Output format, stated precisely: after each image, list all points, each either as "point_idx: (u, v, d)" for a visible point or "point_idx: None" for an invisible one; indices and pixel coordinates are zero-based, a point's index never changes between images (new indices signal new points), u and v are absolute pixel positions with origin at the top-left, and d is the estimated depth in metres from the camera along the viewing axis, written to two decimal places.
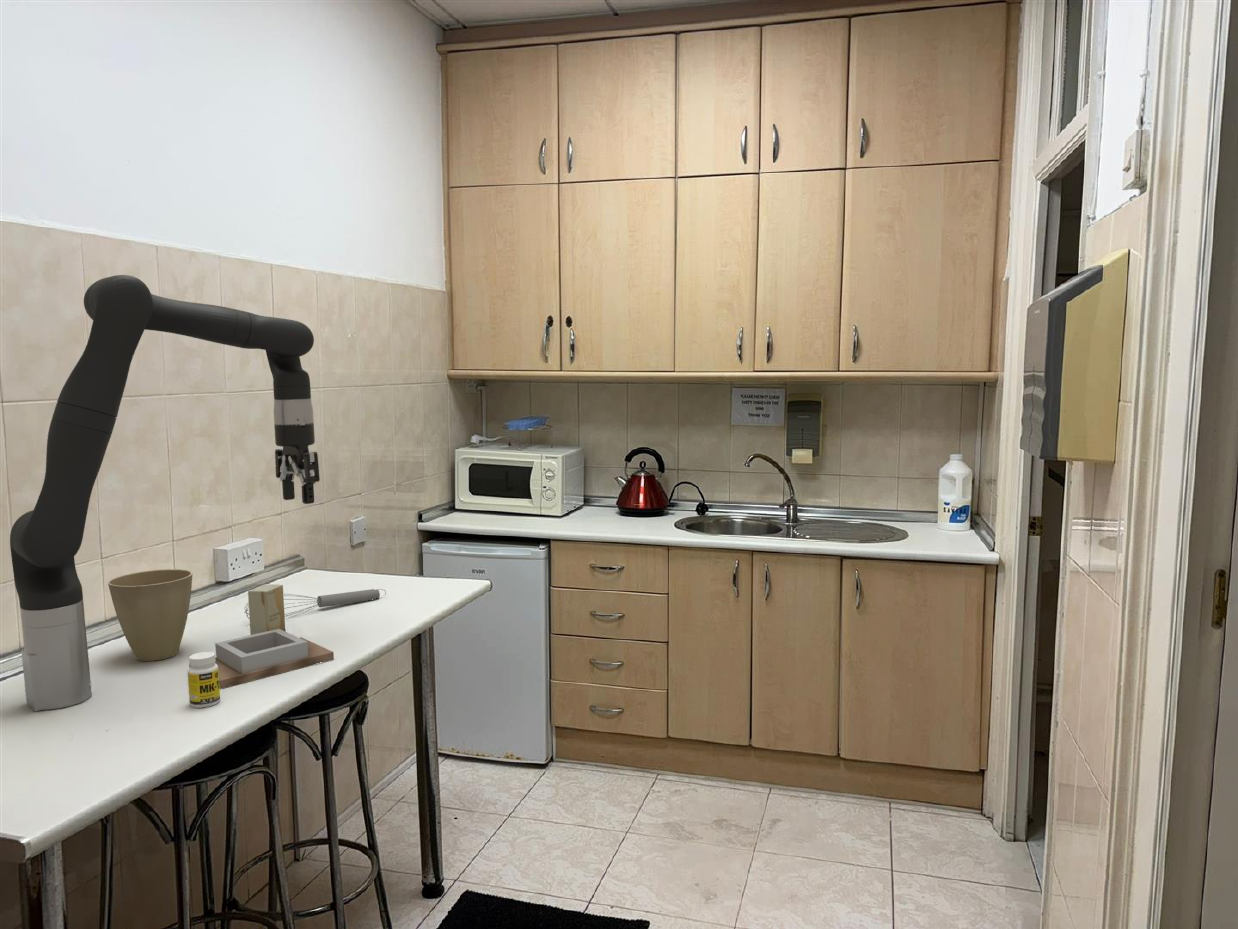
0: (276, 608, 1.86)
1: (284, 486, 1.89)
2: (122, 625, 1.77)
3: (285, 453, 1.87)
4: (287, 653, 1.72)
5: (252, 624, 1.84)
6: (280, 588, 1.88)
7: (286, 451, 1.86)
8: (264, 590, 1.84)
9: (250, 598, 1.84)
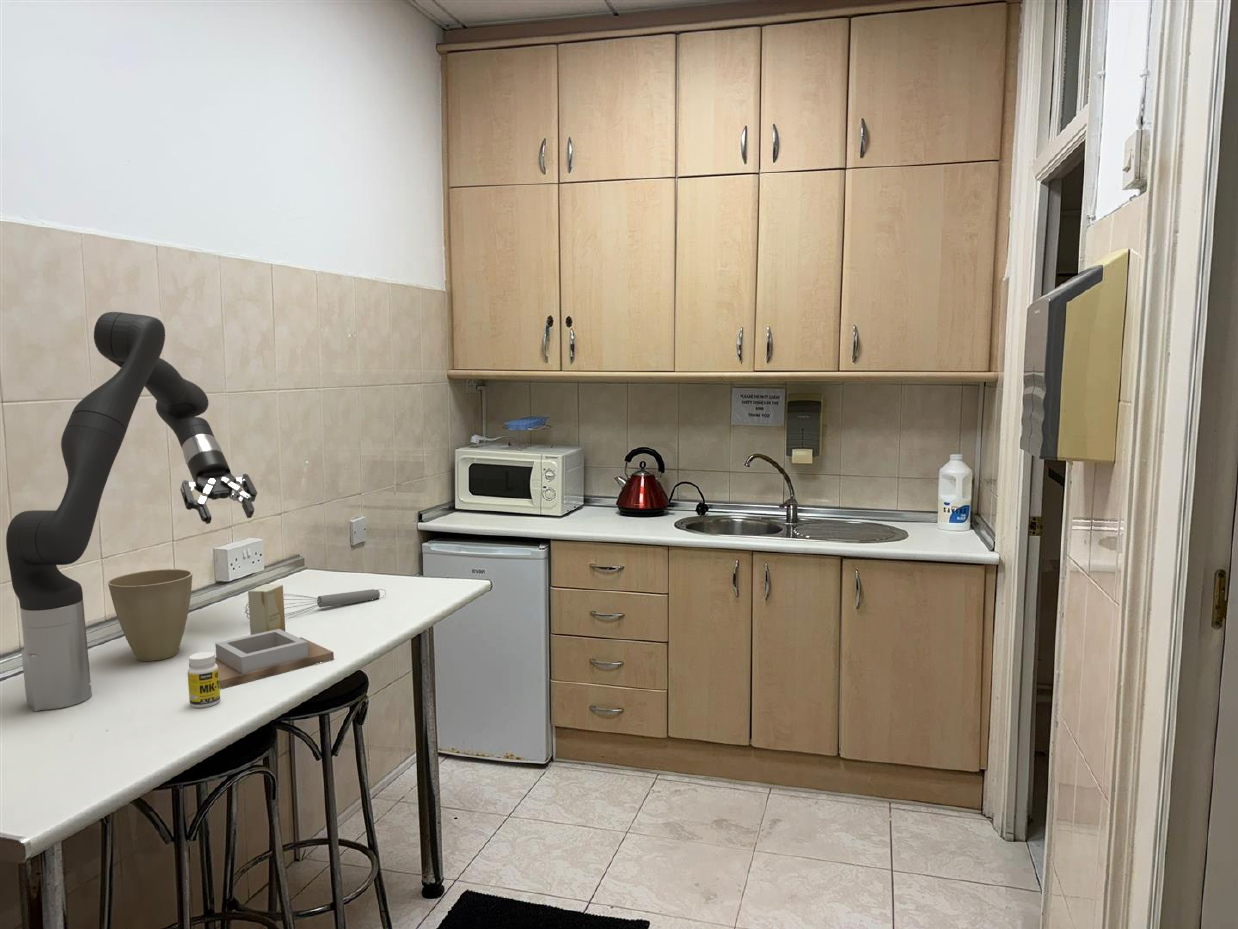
0: (276, 608, 1.86)
1: (207, 507, 1.90)
2: (122, 625, 1.77)
3: (205, 480, 1.93)
4: (287, 653, 1.72)
5: (252, 624, 1.84)
6: (280, 588, 1.88)
7: (206, 478, 1.94)
8: (264, 590, 1.84)
9: (250, 598, 1.84)
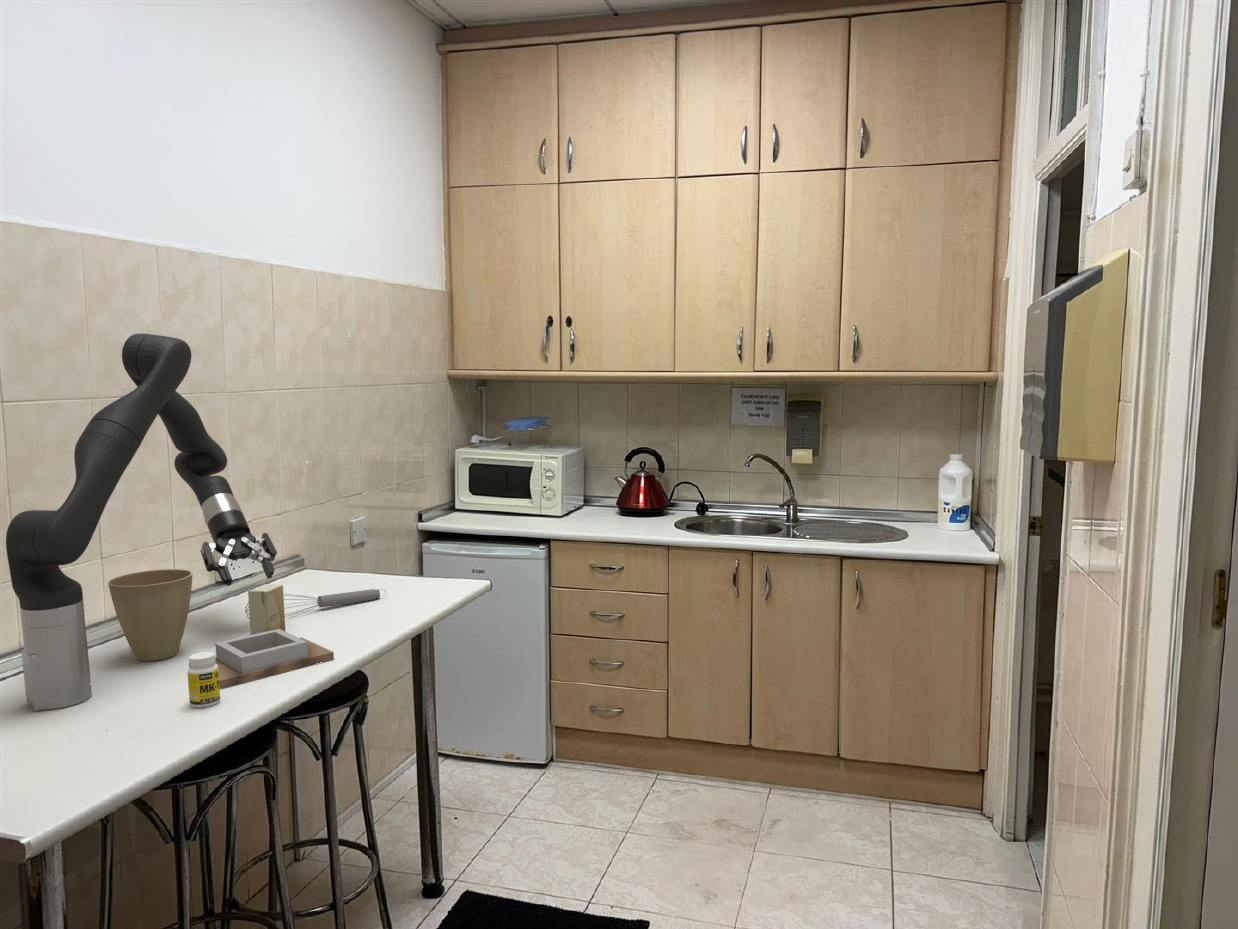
0: (276, 608, 1.86)
1: (227, 569, 1.89)
2: (122, 625, 1.77)
3: (225, 541, 1.93)
4: (287, 653, 1.72)
5: (252, 624, 1.84)
6: (280, 588, 1.88)
7: (227, 539, 1.93)
8: (264, 590, 1.84)
9: (250, 598, 1.84)
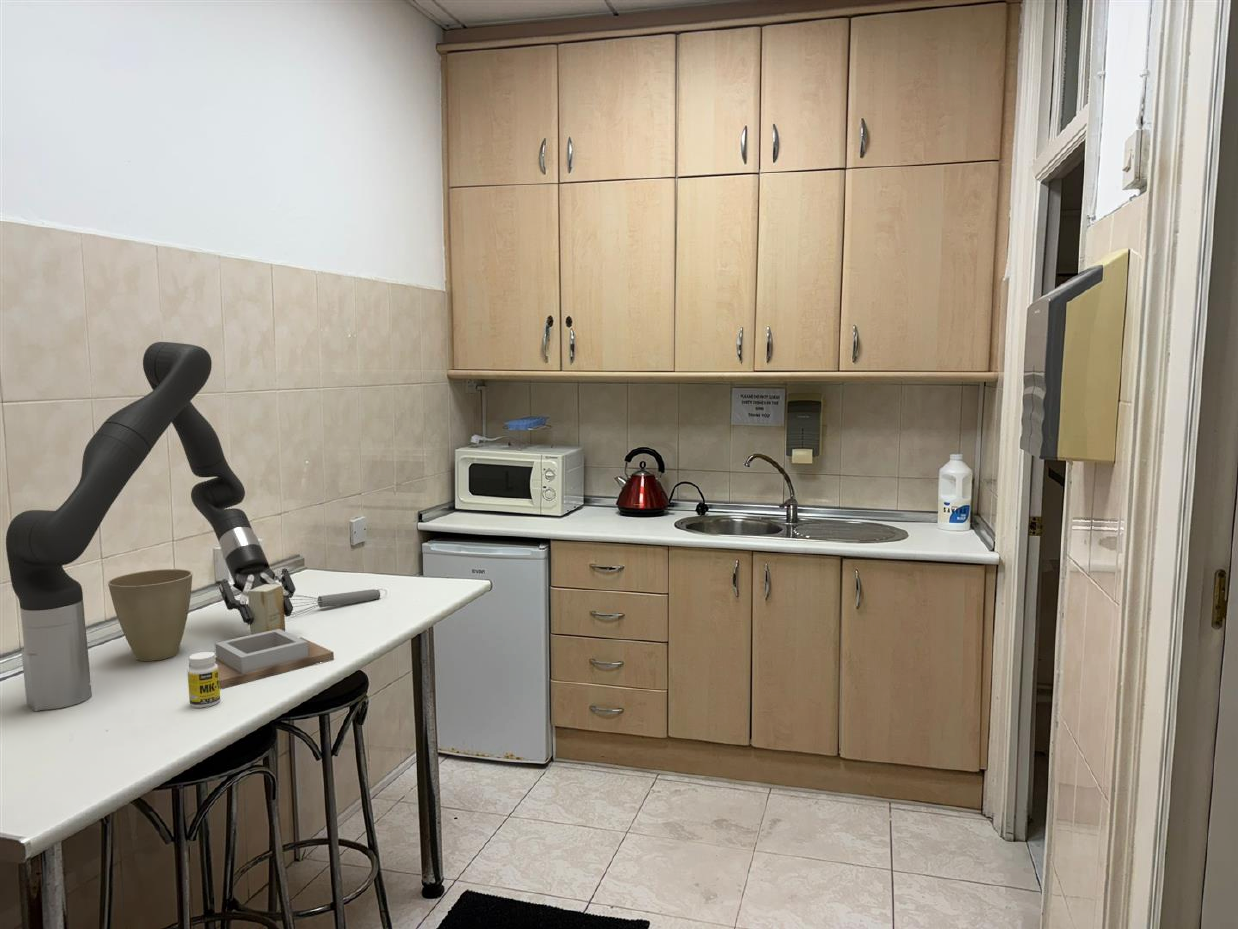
0: (276, 608, 1.86)
1: (248, 608, 1.84)
2: (122, 625, 1.77)
3: (243, 577, 1.88)
4: (287, 653, 1.72)
5: (252, 624, 1.84)
6: (280, 588, 1.88)
7: (245, 575, 1.88)
8: (264, 590, 1.84)
9: (250, 598, 1.84)
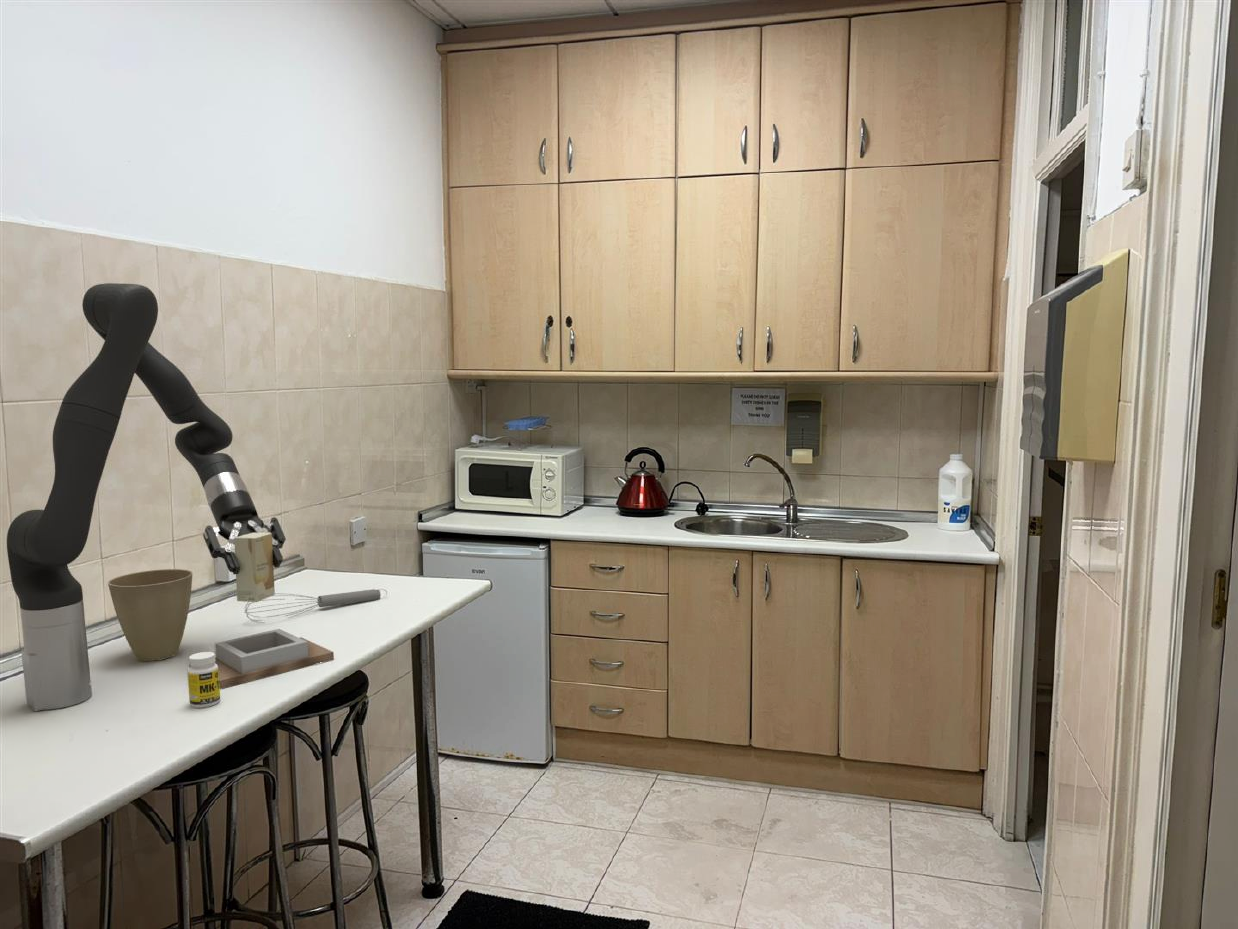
0: (264, 557, 1.73)
1: (234, 556, 1.71)
2: (122, 625, 1.77)
3: (230, 524, 1.75)
4: (287, 653, 1.72)
5: (238, 574, 1.71)
6: (269, 536, 1.74)
7: (232, 522, 1.75)
8: (251, 537, 1.71)
9: (236, 545, 1.70)
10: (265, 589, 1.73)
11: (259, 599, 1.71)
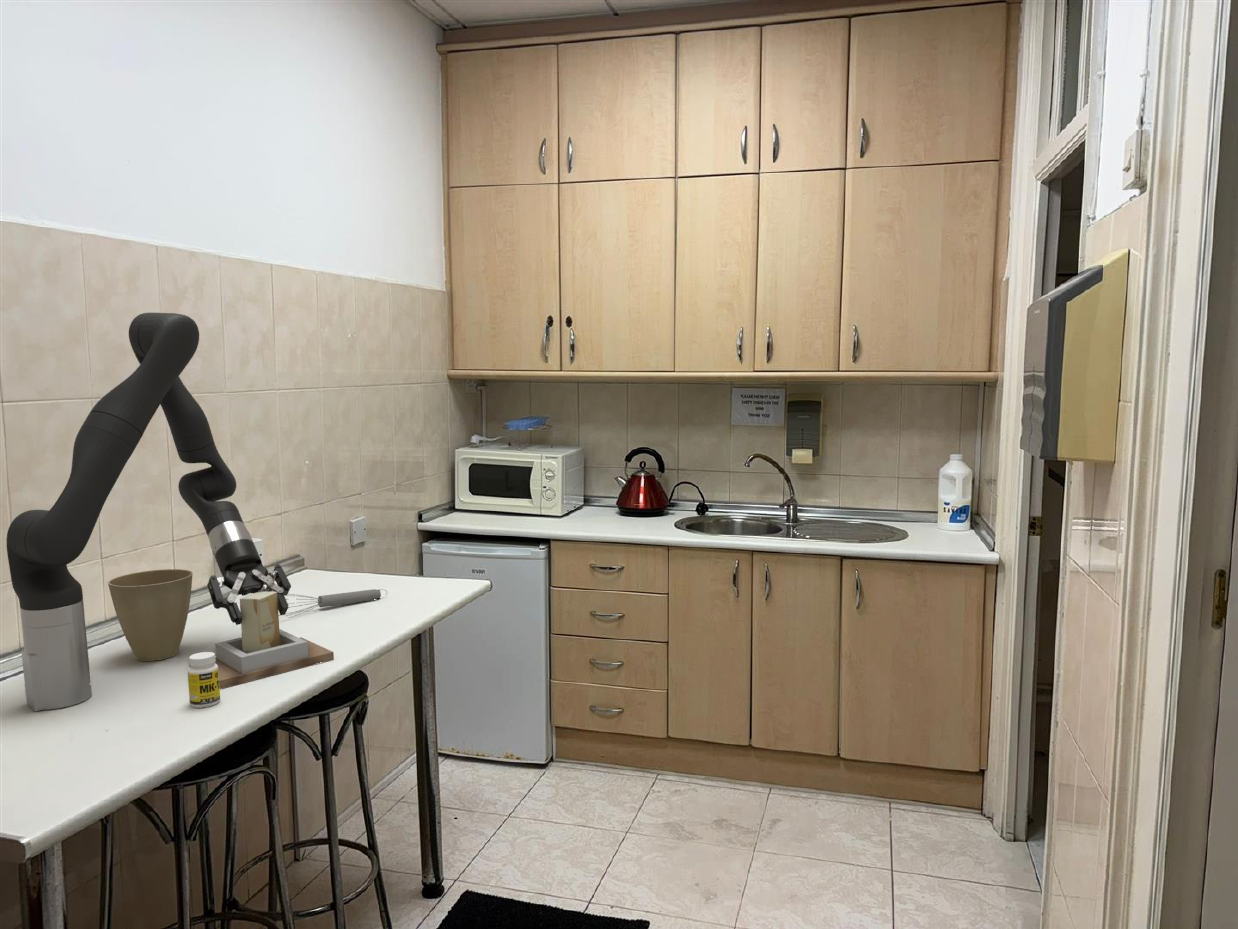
0: (270, 617, 1.74)
1: (237, 606, 1.71)
2: (122, 625, 1.77)
3: (234, 574, 1.75)
4: (287, 653, 1.72)
5: (244, 634, 1.72)
6: (274, 595, 1.76)
7: (236, 572, 1.76)
8: (257, 598, 1.72)
9: (242, 606, 1.72)
10: None
11: None
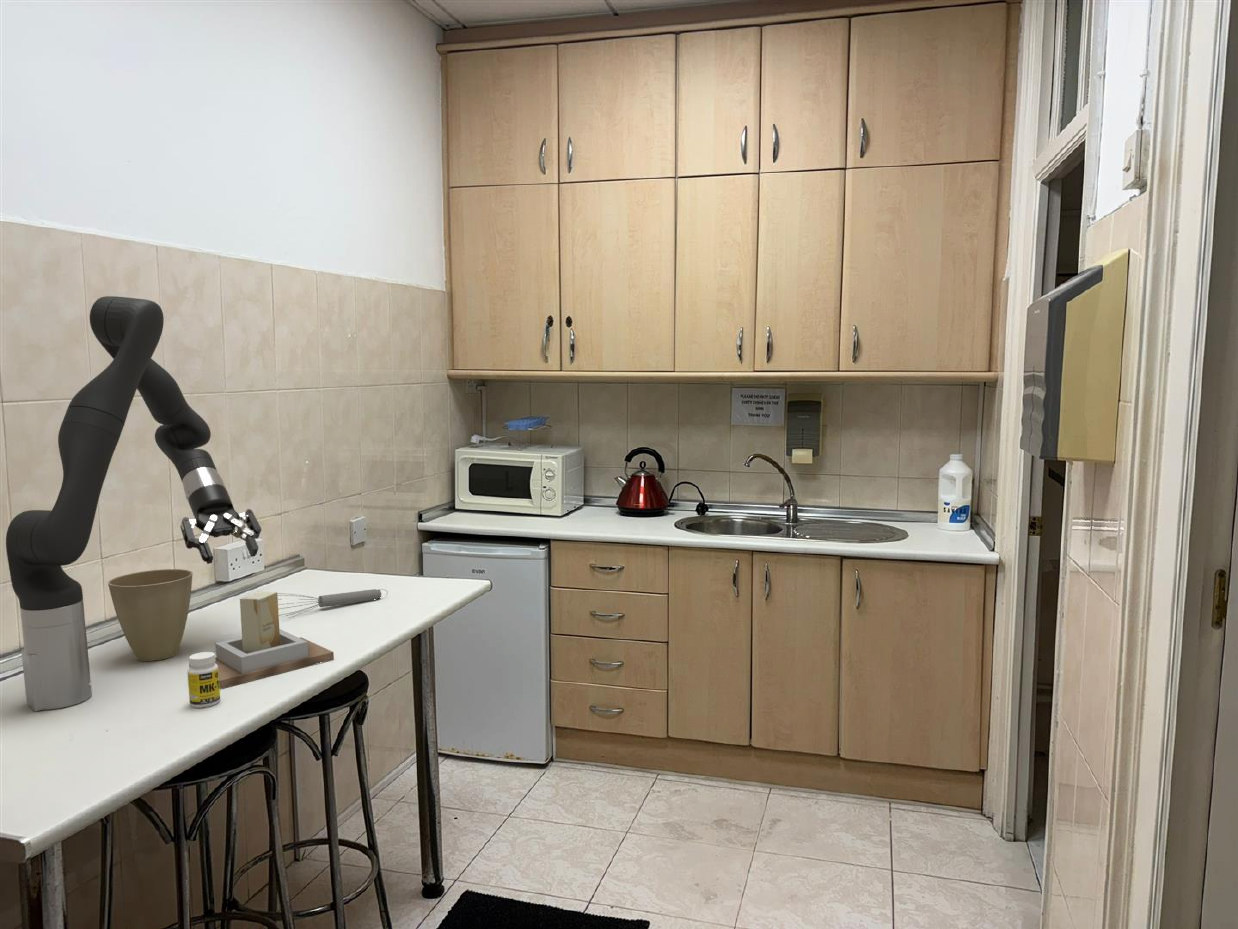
0: (270, 617, 1.74)
1: (208, 546, 1.79)
2: (122, 625, 1.77)
3: (206, 517, 1.83)
4: (287, 653, 1.72)
5: (244, 634, 1.72)
6: (274, 595, 1.76)
7: (208, 515, 1.84)
8: (257, 598, 1.72)
9: (242, 606, 1.72)
10: None
11: None
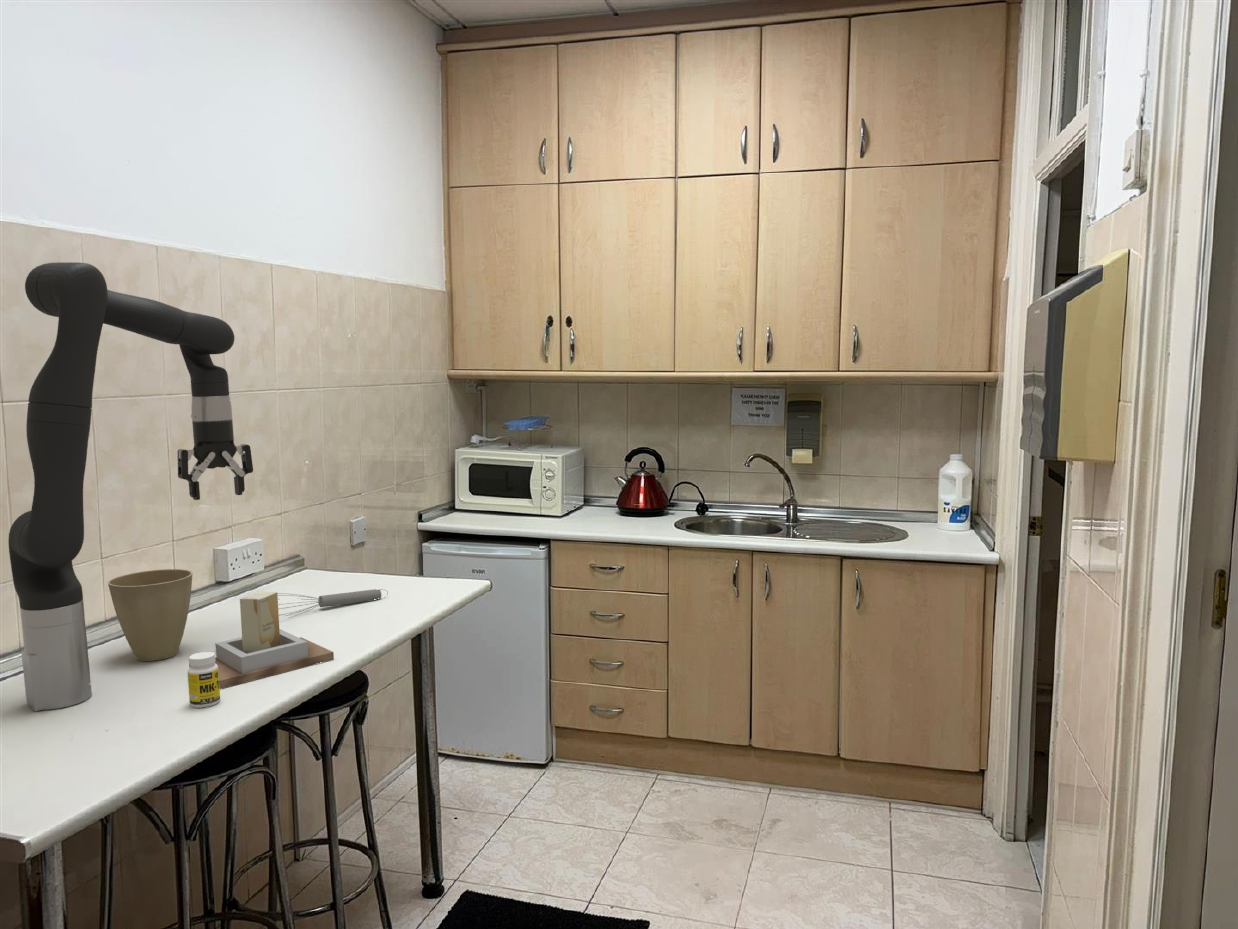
0: (270, 617, 1.74)
1: (198, 485, 1.85)
2: (122, 625, 1.77)
3: (205, 451, 1.85)
4: (287, 653, 1.72)
5: (244, 634, 1.72)
6: (274, 595, 1.76)
7: (207, 448, 1.86)
8: (257, 598, 1.72)
9: (242, 606, 1.72)
10: None
11: None
